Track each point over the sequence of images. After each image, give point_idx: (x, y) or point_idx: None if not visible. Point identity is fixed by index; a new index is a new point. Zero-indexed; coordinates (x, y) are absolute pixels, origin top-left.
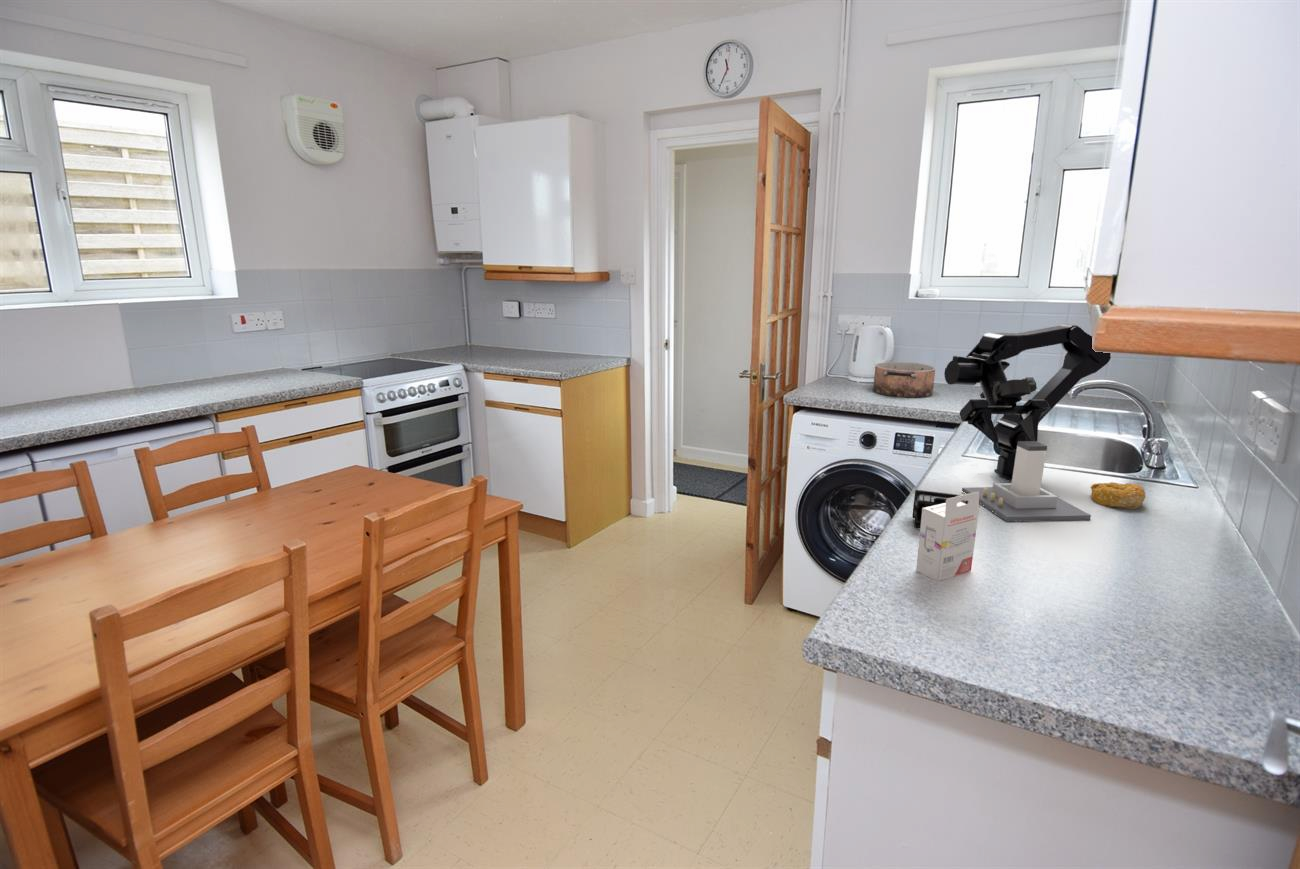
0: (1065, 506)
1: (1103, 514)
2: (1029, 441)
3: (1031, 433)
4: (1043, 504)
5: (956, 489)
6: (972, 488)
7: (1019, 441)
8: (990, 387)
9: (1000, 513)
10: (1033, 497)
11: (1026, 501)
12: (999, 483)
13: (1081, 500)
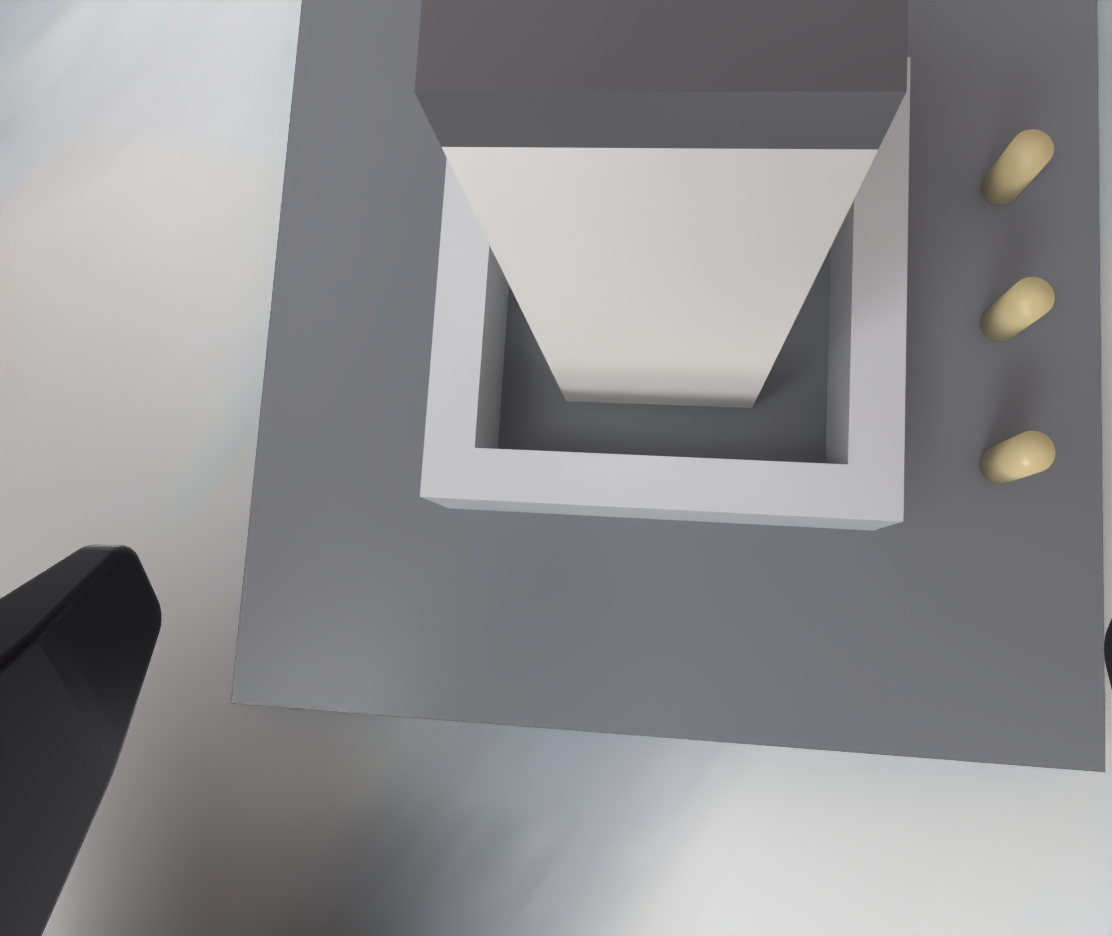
0: (368, 145)
1: (124, 74)
2: (601, 59)
3: (11, 778)
4: None
5: (1103, 848)
6: (998, 725)
7: (871, 74)
8: None
9: (1093, 34)
10: None
11: None
12: (826, 513)
13: (43, 393)
